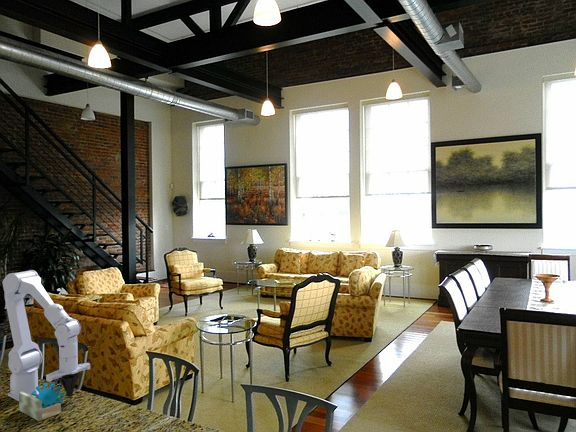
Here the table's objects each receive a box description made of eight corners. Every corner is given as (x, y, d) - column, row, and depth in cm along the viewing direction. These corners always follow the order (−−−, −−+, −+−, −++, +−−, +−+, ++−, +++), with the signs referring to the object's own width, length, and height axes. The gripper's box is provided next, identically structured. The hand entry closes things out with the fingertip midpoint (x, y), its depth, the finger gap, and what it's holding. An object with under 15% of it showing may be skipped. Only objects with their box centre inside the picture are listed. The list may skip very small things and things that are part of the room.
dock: (19, 410, 150) (19, 392, 150) (41, 403, 156) (40, 385, 156) (38, 421, 143) (38, 402, 142) (61, 412, 148) (60, 394, 148)
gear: (34, 412, 145) (29, 384, 150) (28, 422, 147) (24, 393, 153) (70, 406, 152) (64, 379, 158) (63, 415, 155) (58, 388, 161)
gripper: (53, 364, 149) (54, 406, 149) (94, 352, 160) (95, 391, 161) (42, 360, 153) (43, 400, 153) (83, 349, 165) (84, 386, 165)
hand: (69, 395), depth 157 cm, fingers closed
